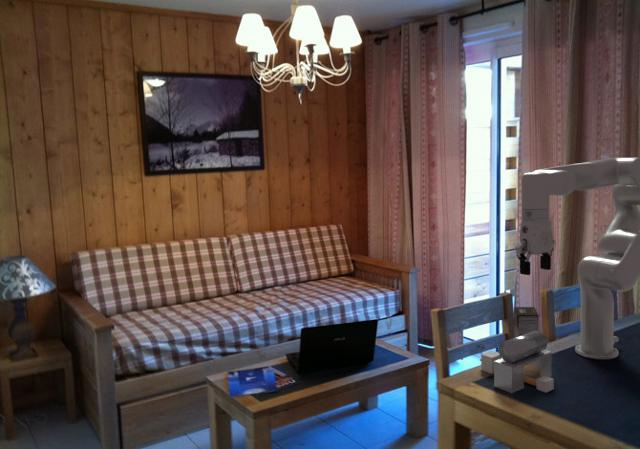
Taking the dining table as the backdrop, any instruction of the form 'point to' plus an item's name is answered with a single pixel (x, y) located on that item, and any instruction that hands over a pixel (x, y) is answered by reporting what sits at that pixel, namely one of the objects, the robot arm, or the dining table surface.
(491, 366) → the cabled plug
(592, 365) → the dining table surface
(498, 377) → the cylinder
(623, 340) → the dining table surface
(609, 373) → the dining table surface
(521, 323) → the coffee box
